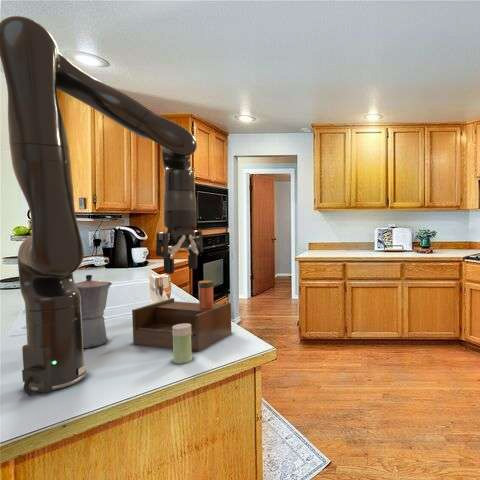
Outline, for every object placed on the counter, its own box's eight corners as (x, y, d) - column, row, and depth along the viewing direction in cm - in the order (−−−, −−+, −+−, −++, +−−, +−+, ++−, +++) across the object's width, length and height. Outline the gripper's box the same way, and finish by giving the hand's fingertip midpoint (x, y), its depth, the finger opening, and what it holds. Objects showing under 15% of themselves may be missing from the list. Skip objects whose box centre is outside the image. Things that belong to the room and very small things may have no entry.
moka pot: (124, 337, 107) (121, 272, 105) (70, 357, 92) (66, 281, 90) (100, 334, 109) (97, 270, 108) (44, 353, 94) (40, 279, 93)
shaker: (183, 364, 88) (182, 329, 87) (169, 362, 89) (167, 327, 88) (196, 357, 92) (195, 324, 91) (181, 356, 93) (180, 322, 92)
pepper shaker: (207, 309, 105) (207, 283, 105) (195, 308, 106) (195, 282, 106) (216, 306, 109) (216, 280, 109) (205, 305, 110) (204, 280, 110)
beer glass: (147, 319, 125) (146, 277, 124) (153, 314, 131) (152, 274, 130) (169, 318, 127) (168, 277, 126) (174, 313, 133) (172, 274, 132)
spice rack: (198, 351, 96) (197, 315, 95) (133, 343, 101) (132, 309, 101) (231, 333, 111) (230, 302, 110) (172, 327, 116) (171, 298, 115)
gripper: (186, 209, 99) (187, 266, 100) (145, 208, 85) (147, 274, 86) (210, 209, 97) (211, 268, 98) (172, 208, 83) (174, 276, 84)
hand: (181, 271), depth 92 cm, fingers open, 8 cm apart
